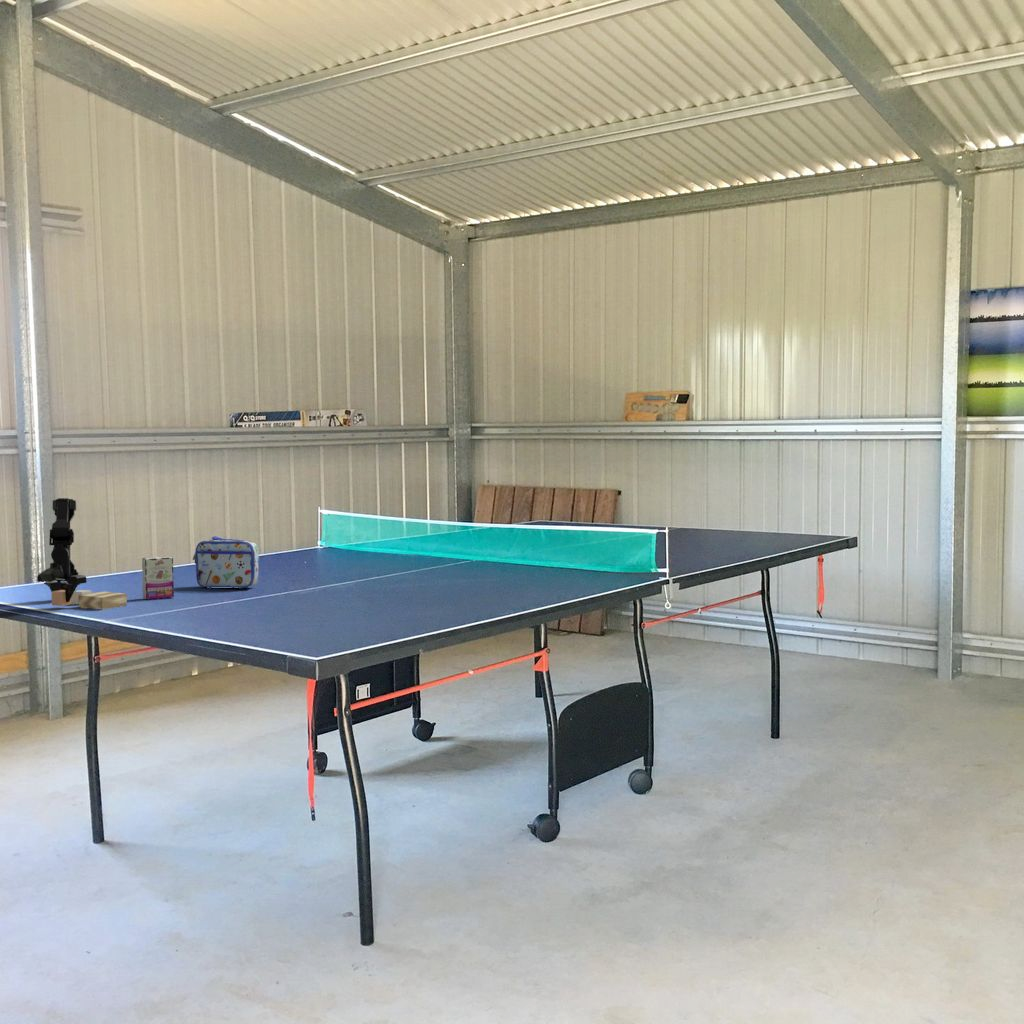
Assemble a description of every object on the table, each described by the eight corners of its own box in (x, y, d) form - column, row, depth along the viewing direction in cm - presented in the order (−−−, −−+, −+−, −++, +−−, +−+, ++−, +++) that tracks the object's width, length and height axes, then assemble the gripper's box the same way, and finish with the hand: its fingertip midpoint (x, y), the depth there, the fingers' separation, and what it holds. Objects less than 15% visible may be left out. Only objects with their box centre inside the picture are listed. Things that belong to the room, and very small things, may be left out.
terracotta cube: (51, 604, 397) (51, 591, 397) (62, 603, 402) (61, 589, 402) (62, 605, 395) (62, 592, 395) (72, 604, 400) (72, 590, 400)
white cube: (71, 604, 409) (71, 591, 409) (81, 602, 414) (81, 589, 414) (82, 605, 407) (82, 592, 407) (91, 603, 412) (91, 590, 412)
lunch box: (190, 588, 456) (189, 537, 454) (199, 585, 466) (199, 535, 465) (253, 590, 453) (252, 538, 452) (261, 587, 463) (261, 536, 462)
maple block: (78, 608, 401) (78, 595, 401) (103, 604, 412) (103, 591, 412) (102, 610, 396) (102, 597, 396) (126, 606, 407) (126, 593, 407)
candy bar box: (170, 596, 432) (169, 556, 431) (174, 598, 428) (173, 557, 427) (141, 598, 426) (141, 557, 425) (145, 600, 422) (145, 558, 421)
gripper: (25, 560, 393) (25, 602, 395) (64, 563, 387) (65, 606, 388) (48, 557, 404) (49, 598, 405) (87, 560, 397) (87, 602, 398)
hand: (62, 601), depth 399 cm, fingers closed on terracotta cube, 5 cm apart
